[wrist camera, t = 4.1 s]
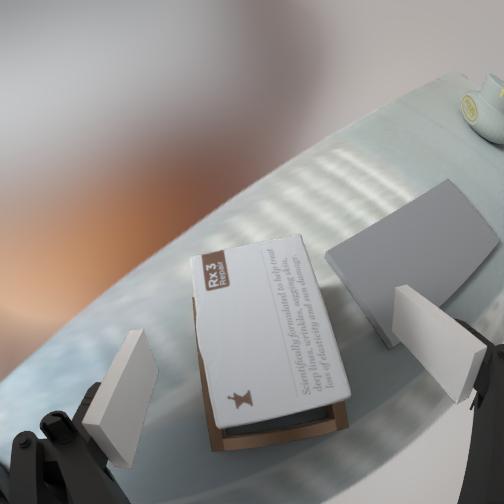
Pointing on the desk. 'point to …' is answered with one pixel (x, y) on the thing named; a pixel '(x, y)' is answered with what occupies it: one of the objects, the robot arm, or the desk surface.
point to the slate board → (413, 254)
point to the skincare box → (265, 333)
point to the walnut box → (268, 437)
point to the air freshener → (486, 109)
